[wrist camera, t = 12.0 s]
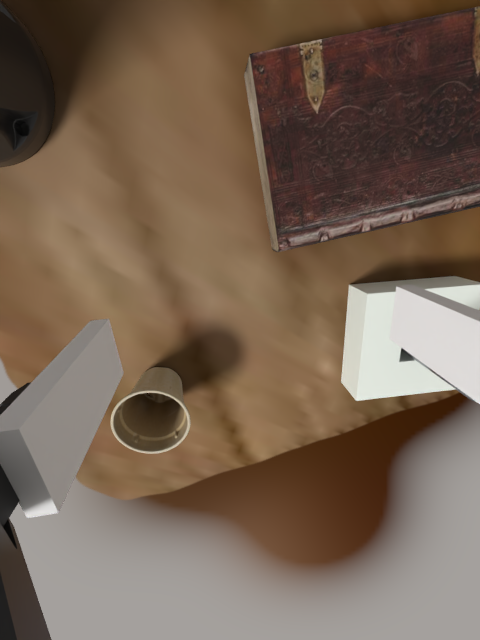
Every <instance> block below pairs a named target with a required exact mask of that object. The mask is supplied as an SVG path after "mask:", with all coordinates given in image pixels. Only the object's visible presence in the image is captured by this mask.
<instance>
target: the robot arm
mask: <svg viewBox="0 0 480 640" xmlns="http://www.w3.org/2000/svg"><path fill="white" fill-rule="evenodd" d="M54 109H55V98H54V89H53V83H52V79H51V75H50V72H49V69H48V66H47V63H46V61H45V58H44V56H43V54H42V52H41V50H40V48H39V46H38V44H37V43H36V41H35V39H34V38H33V37H32V35H31V34H30V32H29V31H28V29H27V28H26V27H25V26H24V24H23V23H22V22H21V21H20V20H19V19H18V18H17V17H16V16H15V14H14V13H13V12H12V11H11V10H10V9H9V8H8V7H7V6H6V5H5V4H4V3H3V2H2V1H1V0H0V167H5V166H11V165H14V164H17V163H20V162H22V161H24V160H26V159H28V158H29V157H31V156H32V155H33V154H34V153H36V152H37V151H38V150H39V149H40V147H41V146H42V145H43V143H44V142H45V140H46V138H47V136H48V134H49V132H50V129H51V126H52V123H53V118H54ZM389 339H390V340H391V341H393V342H394V343H396V344H397V345H398V346H400V347H401V348H403V349H404V350H405V351H407V352H408V353H409V354H411V355H412V356H414V357H415V358H416V359H418V360H419V361H421V362H422V363H423V364H425V365H426V366H427V367H429V368H430V369H432V370H433V371H434V372H436V373H437V374H439V375H440V376H441V377H443V378H444V379H445V380H447V381H448V382H450V383H451V384H452V385H454V386H455V387H457V388H458V389H459V390H461V391H462V392H463V393H465V394H466V395H468V396H469V397H470V398H472V399H473V400H475V401H476V402H477V403H479V404H480V311H479V310H477V309H474V308H472V307H469V306H466V305H464V304H461V303H459V302H456V301H453V300H451V299H448V298H446V297H443V296H440V295H438V294H435V293H433V292H430V291H427V290H425V289H422V288H420V287H417V286H414V285H403V286H396V293H395V301H394V308H393V315H392V323H391V330H390V338H389ZM122 376H123V369H122V365H121V362H120V358H119V354H118V351H117V347H116V343H115V339H114V336H113V332H112V328H111V325H110V321H109V319H102V320H93V321H90V322H89V323H88V324H87V325H86V326H85V327H84V328H83V329H82V330H81V331H80V332H79V333H78V334H77V336H76V337H75V338H74V339H73V340H72V341H71V342H70V343H69V344H68V345H67V346H66V347H65V348H64V349H63V350H62V351H61V352H60V353H59V354H58V355H57V356H56V357H55V359H54V360H53V361H52V362H51V363H50V364H49V365H48V366H47V367H46V368H45V369H44V370H43V371H42V372H41V373H40V374H39V375H38V376H37V377H36V378H35V379H34V381H33V382H32V383H27V384H25V385H24V386H22V387H21V388H19V389H18V390H16V391H14V392H13V393H11V395H9V397H7V398H6V399H5V401H3V402H2V403H1V404H0V640H51V637H50V634H49V631H48V628H47V625H46V622H45V619H44V616H43V613H42V610H41V607H40V604H39V601H38V598H37V595H36V592H35V589H34V586H33V583H32V580H31V577H30V574H29V571H28V568H27V565H26V562H25V559H24V556H23V553H22V550H21V547H20V544H19V541H18V538H17V535H16V532H15V529H14V527H13V524H12V523H11V521H10V519H9V517H10V515H11V514H12V512H13V510H14V509H15V507H16V506H17V504H18V502H19V504H20V506H21V507H22V509H23V511H24V513H25V515H26V517H27V518H30V517H36V516H42V515H48V514H55V513H59V511H60V509H61V506H62V504H63V502H64V500H65V498H66V496H67V493H68V491H69V489H70V487H71V485H72V483H73V481H74V479H75V476H76V474H77V472H78V470H79V468H80V466H81V464H82V461H83V459H84V457H85V455H86V453H87V451H88V449H89V446H90V444H91V442H92V440H93V438H94V436H95V434H96V431H97V429H98V427H99V425H100V423H101V421H102V418H103V416H104V414H105V412H106V410H107V408H108V406H109V403H110V401H111V399H112V397H113V395H114V393H115V391H116V388H117V386H118V384H119V382H120V380H121V378H122Z"/></svg>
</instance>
